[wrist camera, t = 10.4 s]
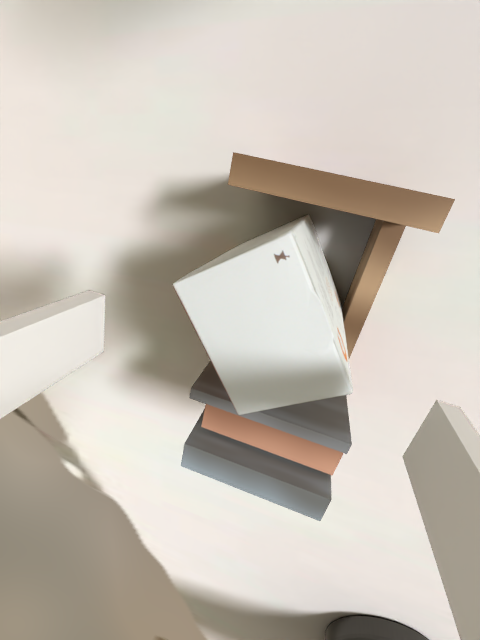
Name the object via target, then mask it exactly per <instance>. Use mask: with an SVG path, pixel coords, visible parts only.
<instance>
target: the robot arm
mask: <svg viewBox="0 0 480 640" xmlns="http://www.w3.org/2000/svg"><path fill="white" fill-rule="evenodd" d="M104 327H105V295H104V294H100V293H97V292H94V291H91V290H88V291H85V292H82V293H79V294H77V295H74V296H71V297H68V298H65V299H62V300H59V301H57V302H54V303H51V304H48V305H45V306H42V307H40V308H37V309H34V310H31V311H28V312H25V313H22V314H20V315H17V316H14V317H11V318H8V319H5V320H2V321H0V419H1V418H3V417H4V416H5V415H7V414H9V413H10V412H12V411H13V410H15V409H16V408H18V407H19V406H21V405H22V404H24V403H26V402H27V401H29V400H30V399H32V398H33V397H35V396H36V395H38V394H39V393H41V392H42V391H44V390H46V389H47V388H49V387H50V386H52V385H53V384H55V383H56V382H58V381H59V380H61V379H62V378H64V377H65V376H67V375H69V374H70V373H72V372H73V371H75V370H76V369H78V368H79V367H81V366H82V365H84V364H85V363H87V362H88V361H90V360H92V359H93V358H95V357H96V356H98V355H99V354H101V353H102V352H104ZM403 459H404V462H405V466H406V469H407V472H408V475H409V478H410V481H411V484H412V488H413V491H414V494H415V497H416V500H417V503H418V507H419V510H420V513H421V516H422V519H423V522H424V525H425V529H426V532H427V535H428V538H429V541H430V544H431V548H432V551H433V554H434V557H435V560H436V563H437V566H438V570H439V573H440V576H441V579H442V582H443V585H444V589H445V592H446V595H447V598H448V601H449V604H450V607H451V611H452V614H453V617H454V620H455V623H456V626H457V630H458V633H459V636H460V639H461V640H480V435H479V434H478V432H477V431H476V430H475V428H474V427H473V425H472V424H471V422H470V421H469V419H468V418H467V416H466V415H465V413H464V412H463V411H462V409H461V408H460V407H458V406H455V405H452V404H448V403H445V402H442V401H439V400H436V402H435V403H434V405H433V407H432V408H431V410H430V412H429V413H428V415H427V417H426V418H425V420H424V422H423V423H422V425H421V427H420V428H419V430H418V432H417V433H416V435H415V437H414V438H413V440H412V442H411V443H410V445H409V447H408V448H407V450H406V452H405V453H404V455H403ZM325 640H428V639H427V638H425V637H424V636H423V635H421V634H419V633H418V632H416V631H414V630H412V629H410V628H408V627H406V626H403V625H401V624H398V623H395V622H392V621H389V620H385V619H381V618H375V617H368V616H351V617H344V618H341V619H338V620H336V621H334V622H332V623H331V624H330V625H329V626H328V627H327V629H326V632H325Z"/></svg>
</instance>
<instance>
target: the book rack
mask: <svg viewBox="0 0 480 640" xmlns="http://www.w3.org/2000/svg"><path fill="white" fill-rule="evenodd" d="M228 185H232V186H236V187H240V188H245V189H249V190H253V191H258V192H262V193H266V194H271V195H275V196H279V197H284V198H288V199H292V200H297V201H301V202H305V203H310V204H314V205H318V206H323V207H327V208H331V209H336V210H340V211H344V212H349V213H353V214H357V215H362V216H366V217H371V218H375V219H376V221H375V224H374V227H373V229H372V232H371V234H370V237H369V240H368V242H367V245H366V247H365V250H364V253H363V255H362V258H361V261H360V263H359V266H358V268H357V271H356V274H355V276H354V279H353V281H352V284H351V287H350V289H349V292H348V294H347V297H346V300H345V302H344V305H343V308H342V316H343V323H344V329H345V336H346V343H347V350H348V358H350V355H351V353H352V351H353V348H354V346H355V344H356V341H357V339H358V337H359V334H360V332H361V330H362V327H363V325H364V323H365V320H366V318H367V316H368V313H369V311H370V309H371V306H372V304H373V302H374V299H375V297H376V295H377V292H378V290H379V288H380V285H381V283H382V280H383V278H384V276H385V273H386V271H387V269H388V266H389V264H390V262H391V259H392V257H393V255H394V252H395V250H396V248H397V245H398V243H399V241H400V238H401V236H402V234H403V231H404V229H405V227H406V226H410V227H414V228H418V229H423V230H427V231H431V232H436V233H439V232H440V230H441V228H442V225H443V223H444V221H445V219H446V217H447V215H448V213H449V211H450V209H451V207H452V205H453V202H454V200H455V199H451V198H447V197H442V196H437V195H432V194H428V193H423V192H418V191H413V190H409V189H404V188H399V187H395V186H390V185H385V184H380V183H376V182H371V181H366V180H362V179H357V178H352V177H347V176H343V175H338V174H333V173H328V172H324V171H319V170H314V169H310V168H305V167H300V166H295V165H291V164H286V163H281V162H277V161H272V160H267V159H262V158H258V157H253V156H248V155H243V154H239V153H234V152H233V157H232V163H231V169H230V175H229V181H228ZM190 398H191V399H194V400H197V401H199V402H202V403H205V404H206V406H205V409H204V411H203V413H202V414H201V416H200V418H199V420H198V421H197V423H196V425H195V427H194V428H193V430H192V432H191V433H190V435H189V437H188V439H187V440H186V442H185V445H184V450H183V456H182V462H181V466H182V467H185V468H187V469H190V470H193V471H195V472H198V473H200V474H203V475H205V476H208V477H210V478H213V479H215V480H218V481H220V482H223V483H225V484H228V485H230V486H233V487H235V488H238V489H240V490H243V491H245V492H248V493H250V494H253V495H255V496H258V497H260V498H263V499H266V500H268V501H271V502H273V503H276V504H278V505H281V506H283V507H286V508H288V509H291V510H293V511H296V512H298V513H301V514H303V515H306V516H308V517H311V518H313V519H316V520H318V521H321V519H322V517H323V515H324V513H325V511H326V509H327V507H328V505H329V503H330V501H331V475H333V473H334V471H335V469H336V467H337V465H338V463H339V461H340V459H341V457H342V455H343V453H345V454H347V453H348V451H349V449H350V447H351V445H352V443H351V434H350V425H349V416H348V408H347V399H346V395H343V396H337V397H331V398H326V399H320V400H315V401H309V402H304V403H298V404H293V405H288V406H283V407H277V408H272V409H267V410H262V411H257V412H252V413H247V414H242V415H238V414H237V412H236V410H235V408H234V406H233V404H232V402H231V400H230V398H229V396H228V394H227V392H226V390H225V388H224V386H223V384H222V382H221V380H220V378H219V376H218V374H217V372H216V370H215V368H214V366H213V364H212V362H211V361H210V362H209V364H208V365H207V367H206V368H205V369H204V371H203V372H202V374H201V375H200V376H199V378H198V379H197V381H196V382H195V383H194V385H193V386H192V388H191V392H190Z"/></svg>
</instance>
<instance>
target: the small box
mask: <svg viewBox="0 0 480 640" xmlns="http://www.w3.org/2000/svg"><path fill="white" fill-rule="evenodd" d="M173 287H174V289H175V291H176V293H177V295H178V297H179V299H180V301H181V303H182V305H183V307H184V309H185V311H186V313H187V315H188V317H189V319H190V321H191V323H192V325H193V327H194V329H195V331H196V333H197V335H198V337H199V339H200V340H201V342H202V344H203V346H204V348H205V350H206V352H207V354H208V356H209V358H210V360H211V362H212V364H213V366H214V368H215V370H216V372H217V374H218V376H219V378H220V380H221V382H222V384H223V386H224V388H225V390H226V392H227V394H228V396H229V398H230V400H231V402H232V404H233V406H234V408H235V410H236V412H237V414H238V415H242V414H247V413H252V412H257V411H262V410H267V409H272V408H277V407H283V406H288V405H293V404H298V403H304V402H309V401H315V400H320V399H326V398H331V397H337V396H343V395H349V394H352V391H353V387H352V379H351V371H350V364H349V358H348V350H347V343H346V336H345V329H344V323H343V316H342V308H341V302H340V299H339V296H338V293H337V290H336V287H335V284H334V281H333V278H332V276H331V273H330V270H329V267H328V264H327V262H326V259H325V256H324V253H323V250H322V248H321V245H320V242H319V239H318V236H317V234H316V231H315V228H314V226H313V223H312V221H311V218H310V216H309V215H306V216H304V217H301V218H299V219H297V220H294V221H292V222H290V223H287V224H285V225H283V226H281V227H278V228H276V229H274V230H271V231H269V232H267V233H265V234H263V235H260V236H258V237H256V238H254V239H251V240H249V241H247V242H245V243H243V244H240V245H239V246H237V247H235V248H233V249H231V250H229V251H227V252H225V253H224V254H222V255H220V256H219V257H217V258H215V259H214V260H212V261H210V262H208V263H206V264H205V265H203V266H201V267H199V268H197V269H196V270H194V271H192V272H191V273H189V274H187V275H186V276H184V277H182V278H181V279H179V280H177V281H176V282H174V283H173Z"/></svg>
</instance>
